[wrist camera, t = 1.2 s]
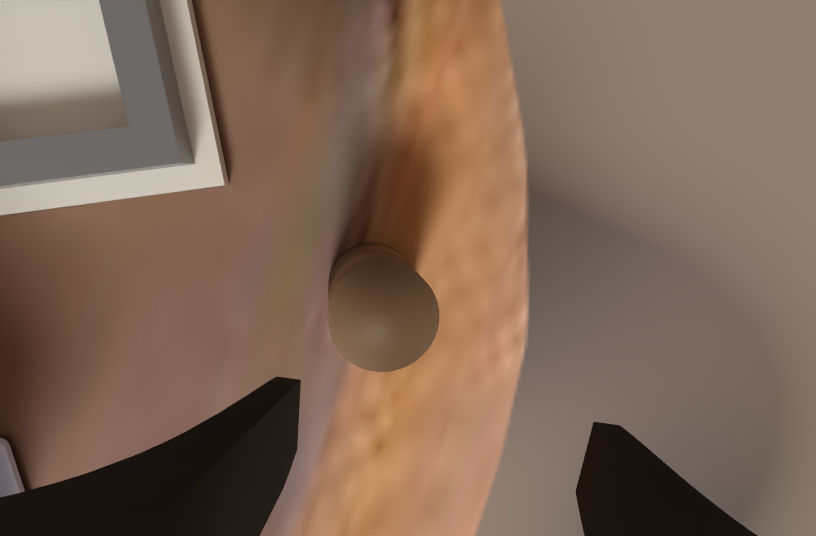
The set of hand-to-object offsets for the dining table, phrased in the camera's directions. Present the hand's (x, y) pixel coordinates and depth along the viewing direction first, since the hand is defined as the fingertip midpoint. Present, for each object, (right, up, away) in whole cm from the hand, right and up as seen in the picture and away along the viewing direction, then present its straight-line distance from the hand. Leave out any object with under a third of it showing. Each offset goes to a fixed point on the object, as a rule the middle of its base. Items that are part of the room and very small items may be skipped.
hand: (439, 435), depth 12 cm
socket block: (-15, +12, +8) cm, 21 cm away
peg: (-3, +3, +12) cm, 12 cm away
